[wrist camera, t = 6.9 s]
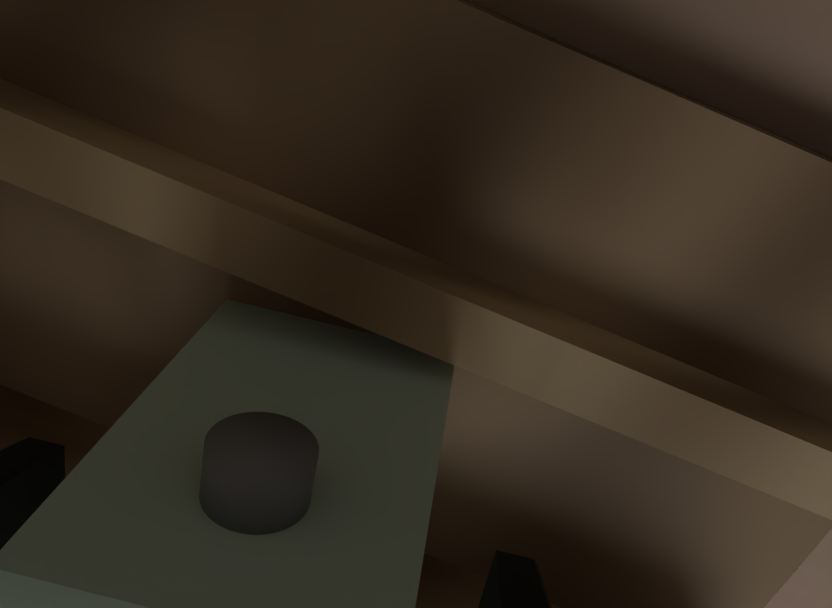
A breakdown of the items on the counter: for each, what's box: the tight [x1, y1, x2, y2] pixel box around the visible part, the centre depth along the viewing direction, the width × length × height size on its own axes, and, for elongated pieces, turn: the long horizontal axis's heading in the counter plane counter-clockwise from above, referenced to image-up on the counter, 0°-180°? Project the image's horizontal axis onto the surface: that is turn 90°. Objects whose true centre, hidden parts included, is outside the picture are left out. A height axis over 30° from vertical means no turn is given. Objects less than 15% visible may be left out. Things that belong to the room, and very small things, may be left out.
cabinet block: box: [0, 299, 454, 608], centre depth 11 cm, size 4×5×7 cm
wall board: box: [0, 0, 832, 608], centre depth 13 cm, size 20×12×4 cm, turn 69°
